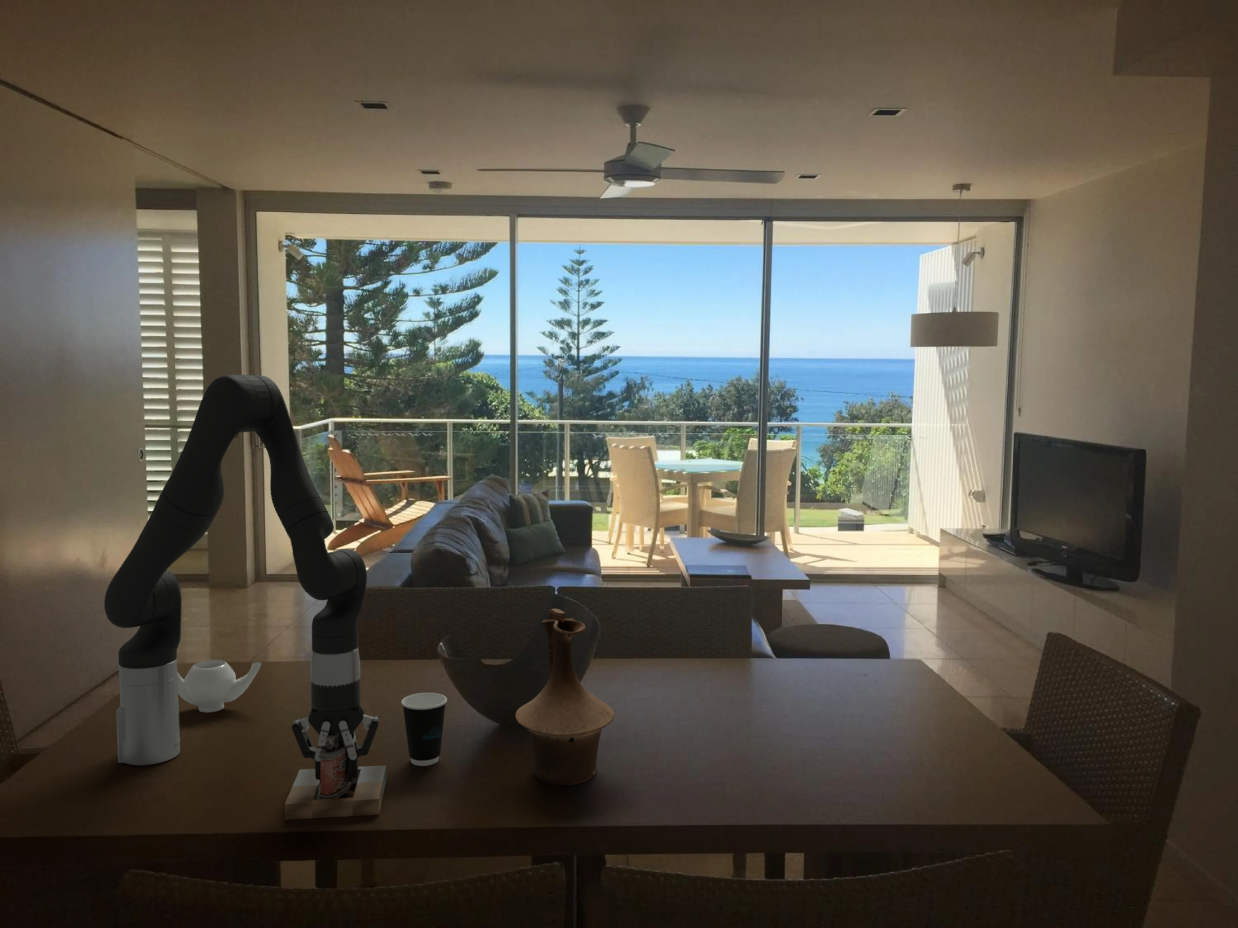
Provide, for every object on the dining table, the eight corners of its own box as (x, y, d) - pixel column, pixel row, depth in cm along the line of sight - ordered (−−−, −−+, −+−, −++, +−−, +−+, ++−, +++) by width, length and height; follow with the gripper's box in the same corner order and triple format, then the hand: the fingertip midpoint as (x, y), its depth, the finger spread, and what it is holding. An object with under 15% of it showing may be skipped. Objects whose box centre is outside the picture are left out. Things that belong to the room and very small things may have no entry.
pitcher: (502, 760, 171) (502, 605, 169) (591, 746, 178) (592, 597, 176) (533, 800, 155) (533, 630, 153) (630, 783, 162) (632, 620, 159)
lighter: (334, 802, 151) (334, 740, 150) (314, 800, 151) (314, 738, 151) (356, 781, 159) (357, 722, 158) (337, 779, 159) (337, 720, 158)
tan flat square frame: (285, 819, 148) (284, 803, 148) (300, 783, 161) (299, 769, 160) (379, 814, 150) (378, 798, 150) (386, 779, 163) (386, 765, 163)
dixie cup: (436, 771, 166) (436, 709, 165) (394, 766, 168) (393, 705, 167) (454, 753, 174) (454, 694, 173) (413, 749, 176) (413, 690, 175)
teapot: (168, 701, 200) (167, 657, 199) (268, 699, 202) (267, 655, 201) (150, 718, 190) (149, 672, 189) (255, 715, 192) (254, 670, 191)
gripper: (284, 685, 149) (286, 792, 150) (379, 682, 151) (380, 788, 152) (293, 670, 156) (295, 773, 158) (383, 667, 158) (384, 768, 160)
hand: (337, 779), depth 155 cm, fingers closed on lighter, 3 cm apart
